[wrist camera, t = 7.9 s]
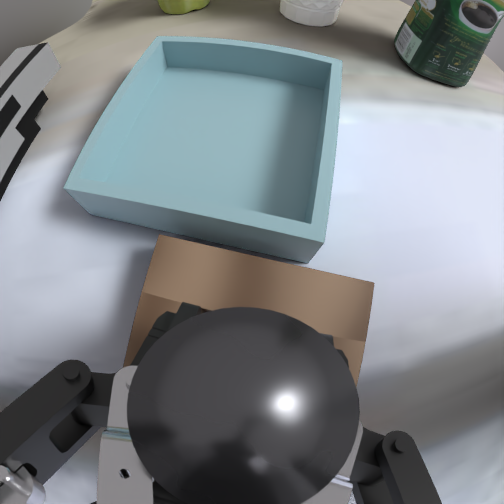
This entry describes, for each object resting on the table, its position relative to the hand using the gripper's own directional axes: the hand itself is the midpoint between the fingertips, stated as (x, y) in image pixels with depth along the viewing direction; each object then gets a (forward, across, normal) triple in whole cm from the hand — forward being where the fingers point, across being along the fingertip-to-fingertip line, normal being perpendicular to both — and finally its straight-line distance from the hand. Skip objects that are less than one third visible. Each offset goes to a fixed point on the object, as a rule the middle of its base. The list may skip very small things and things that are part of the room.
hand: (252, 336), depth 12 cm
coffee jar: (+27, -14, -19) cm, 36 cm away
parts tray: (+13, +5, -5) cm, 15 cm away
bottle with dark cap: (+3, 0, +5) cm, 6 cm away
